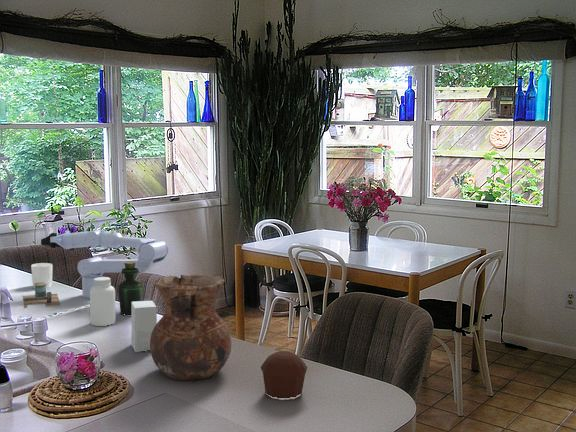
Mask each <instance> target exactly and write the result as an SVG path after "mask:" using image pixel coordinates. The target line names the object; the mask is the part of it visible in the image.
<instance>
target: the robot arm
mask: <svg viewBox="0 0 576 432" xmlns="http://www.w3.org/2000/svg"><path fill="white" fill-rule="evenodd" d="M40 245H41V246H48V247H50V248H52V249H56V248H63V249H65V250H69V251H74V250H75V249H78V248H88V247H91V248H95V247H98V246H100V247H102V248H103V247H104V248H110V249H119V248H120V247H121V246H122V247H128V248H133V249H136V251H137V254H138V255H137V256H138V257H137V258H127V259H126V258H119V259H118V258H113V259H111V258H110V259H109V257H108V258H106V257H103V256H101V255H97V256H94V257H89V258H87V259H86V258H85V259H81V260H80V261H79V262H78V263H77V272H78V273H79V275H80V277H81V282H82V283H81V285H82V288H81V289H82V294H81V295H82V297H83V298H87V299H88V298H89V299H90V290H91V288H92V287H94V286H95V285H94V279H95V278H98V277H104V276H103V275H104V273H121V272H122V269H123V268H125V264H124V262H128V261H133V262H136V263H135V268H137V269H138V271H139V272H138V273H145V272H149V271H150V270H152V269H153V268H154V267H155V266H158V264H159V263H161V262H162V261H164V260H165V259H166V257H167V256H168V254H169V245H168V244H167V242H165V241H164V240H157V239H155V238H146V237H134V236H123V235H122V234H121V233H120V232H117V230H111V231H106V230H105V229H101V228H100V229H97V230H92V231H80V232H79V231H78V232H71V231H70V230H64V233H62V234H60V235H58V234H57V232H52V233H50V234H49V235H47V236H45V237H43V238H41V239H40Z"/></svg>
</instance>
